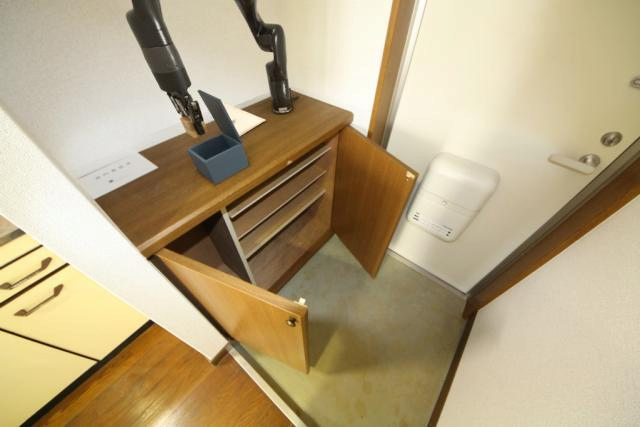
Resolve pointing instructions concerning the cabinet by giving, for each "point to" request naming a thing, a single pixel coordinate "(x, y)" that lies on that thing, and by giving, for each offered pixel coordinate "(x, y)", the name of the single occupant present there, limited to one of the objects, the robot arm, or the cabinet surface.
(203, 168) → the chest
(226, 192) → the cabinet surface
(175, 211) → the cabinet surface
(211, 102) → the lid
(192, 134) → the block
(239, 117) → the white triangular panel
